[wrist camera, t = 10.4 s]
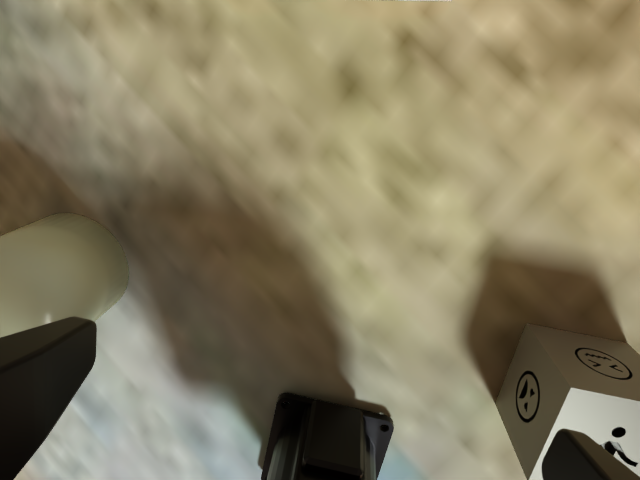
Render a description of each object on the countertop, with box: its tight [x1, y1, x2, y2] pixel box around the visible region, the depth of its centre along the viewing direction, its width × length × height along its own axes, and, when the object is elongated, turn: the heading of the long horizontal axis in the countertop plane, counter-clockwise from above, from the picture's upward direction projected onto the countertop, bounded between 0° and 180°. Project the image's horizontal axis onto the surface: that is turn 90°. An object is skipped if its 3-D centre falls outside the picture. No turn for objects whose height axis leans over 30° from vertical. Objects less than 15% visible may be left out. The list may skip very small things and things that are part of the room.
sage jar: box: [0, 213, 129, 337], centre depth 21 cm, size 6×6×5 cm
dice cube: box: [495, 323, 640, 480], centre depth 20 cm, size 5×5×5 cm
